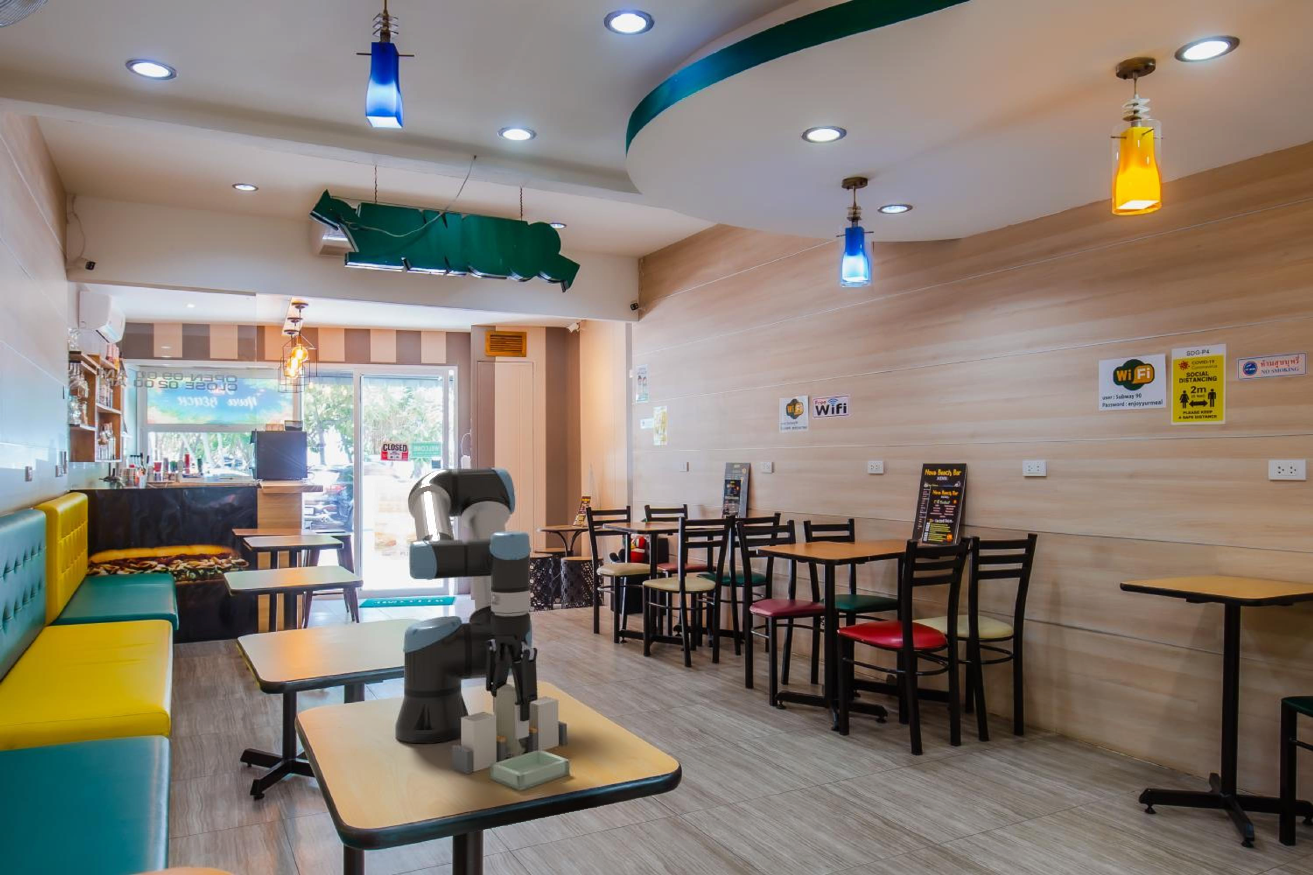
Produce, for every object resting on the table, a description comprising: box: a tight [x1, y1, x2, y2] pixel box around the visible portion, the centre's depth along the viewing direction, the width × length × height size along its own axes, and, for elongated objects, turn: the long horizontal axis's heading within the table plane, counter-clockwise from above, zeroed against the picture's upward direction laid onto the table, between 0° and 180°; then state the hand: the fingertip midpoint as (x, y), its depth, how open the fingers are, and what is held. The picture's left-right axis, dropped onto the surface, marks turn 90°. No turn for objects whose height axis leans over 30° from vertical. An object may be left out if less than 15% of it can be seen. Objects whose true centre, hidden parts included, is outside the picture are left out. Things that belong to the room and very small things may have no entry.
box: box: [496, 683, 526, 759], centre depth 168 cm, size 5×4×13 cm
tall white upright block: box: [460, 711, 497, 773], centre depth 162 cm, size 4×5×9 cm
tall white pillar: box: [529, 696, 560, 751], centre depth 173 cm, size 4×5×9 cm
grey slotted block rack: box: [451, 720, 568, 775], centre depth 168 cm, size 5×23×5 cm, turn 135°
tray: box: [489, 750, 570, 792], centre depth 156 cm, size 9×11×2 cm
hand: (511, 733), depth 168 cm, fingers closed on box, 6 cm apart
